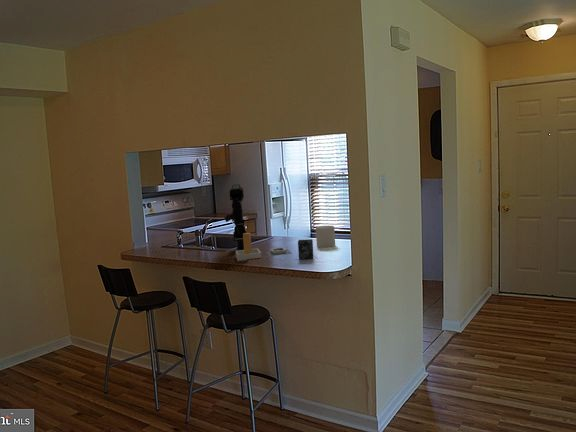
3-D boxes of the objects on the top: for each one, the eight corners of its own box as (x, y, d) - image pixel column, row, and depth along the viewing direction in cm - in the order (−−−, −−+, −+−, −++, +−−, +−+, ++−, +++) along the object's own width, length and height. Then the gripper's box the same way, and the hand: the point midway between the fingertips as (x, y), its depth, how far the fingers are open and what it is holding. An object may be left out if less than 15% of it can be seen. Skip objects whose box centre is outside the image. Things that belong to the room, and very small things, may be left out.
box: (298, 259, 287) (297, 241, 286) (300, 257, 293) (298, 239, 291) (312, 259, 286) (311, 240, 285) (313, 257, 292) (312, 239, 290)
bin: (235, 257, 307) (235, 250, 306) (258, 254, 309) (257, 248, 309) (238, 261, 293) (237, 255, 293) (261, 259, 296) (260, 252, 295)
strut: (246, 256, 304) (244, 232, 302) (253, 256, 303) (251, 232, 301) (243, 257, 300) (241, 234, 298) (250, 257, 298) (248, 234, 297)
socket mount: (265, 253, 312) (264, 248, 312) (287, 250, 315) (287, 246, 314) (268, 257, 299) (268, 252, 298) (292, 255, 301) (291, 250, 301)
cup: (334, 247, 316) (333, 228, 314) (315, 247, 318) (314, 229, 316) (336, 243, 327) (335, 225, 325) (318, 244, 329) (317, 226, 328)
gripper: (222, 208, 317) (225, 233, 319) (225, 211, 299) (227, 237, 301) (240, 206, 319) (242, 231, 321) (244, 209, 301) (246, 235, 303)
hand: (239, 233), depth 312 cm, fingers open, 9 cm apart
